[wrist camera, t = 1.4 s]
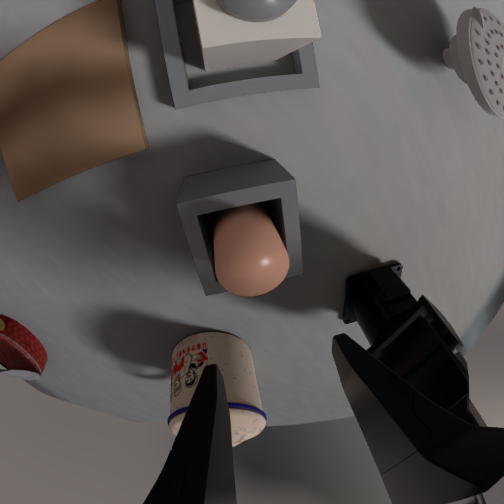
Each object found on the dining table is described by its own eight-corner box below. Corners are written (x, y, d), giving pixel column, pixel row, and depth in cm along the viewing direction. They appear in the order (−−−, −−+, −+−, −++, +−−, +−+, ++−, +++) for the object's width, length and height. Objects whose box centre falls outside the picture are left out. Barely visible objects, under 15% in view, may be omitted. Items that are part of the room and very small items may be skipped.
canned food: (45, 306, 27) (54, 369, 21) (43, 352, 30) (55, 408, 24) (-27, 297, 19) (-33, 363, 13) (-18, 347, 22) (-15, 406, 16)
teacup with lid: (192, 316, 25) (195, 433, 15) (269, 343, 29) (294, 441, 19) (150, 375, 29) (145, 462, 19) (215, 393, 33) (223, 472, 23)
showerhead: (488, -15, 4) (537, 79, 8) (431, -7, 11) (485, 68, 14) (460, 39, 8) (513, 146, 12) (393, 44, 14) (455, 124, 18)
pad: (148, 146, 16) (145, 149, 16) (24, 197, 16) (18, 201, 15) (120, -3, 10) (115, -7, 9) (-6, 71, 10) (-13, 71, 9)
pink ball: (274, 245, 18) (291, 287, 15) (219, 257, 18) (224, 302, 15) (266, 194, 16) (285, 227, 13) (206, 207, 16) (207, 244, 13)
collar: (311, 88, 16) (319, 87, 15) (178, 109, 15) (175, 109, 14) (290, -21, 11) (296, -29, 10) (157, -5, 11) (153, -12, 9)
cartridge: (275, 60, 15) (329, 34, 7) (205, 70, 14) (201, 44, 7) (264, 3, 12) (307, -54, 5) (194, 12, 12) (185, -49, 5)
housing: (284, 237, 22) (303, 274, 18) (205, 254, 22) (205, 296, 17) (274, 159, 18) (295, 179, 14) (183, 177, 18) (176, 204, 14)
